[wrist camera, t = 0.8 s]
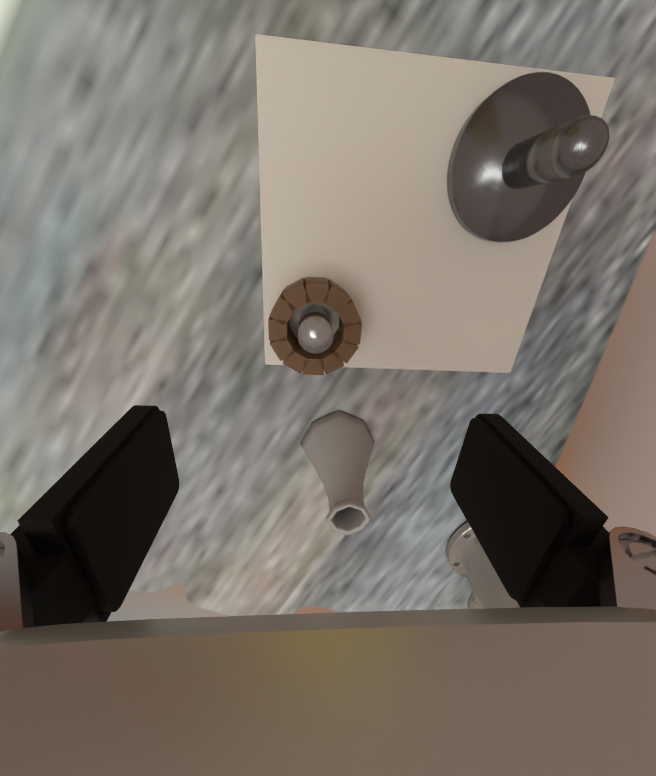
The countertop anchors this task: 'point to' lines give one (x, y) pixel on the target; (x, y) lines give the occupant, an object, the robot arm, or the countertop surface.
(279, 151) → the board
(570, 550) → the robot arm
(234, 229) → the countertop surface
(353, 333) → the walnut ring
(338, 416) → the flask
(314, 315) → the grey capsule
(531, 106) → the hub
